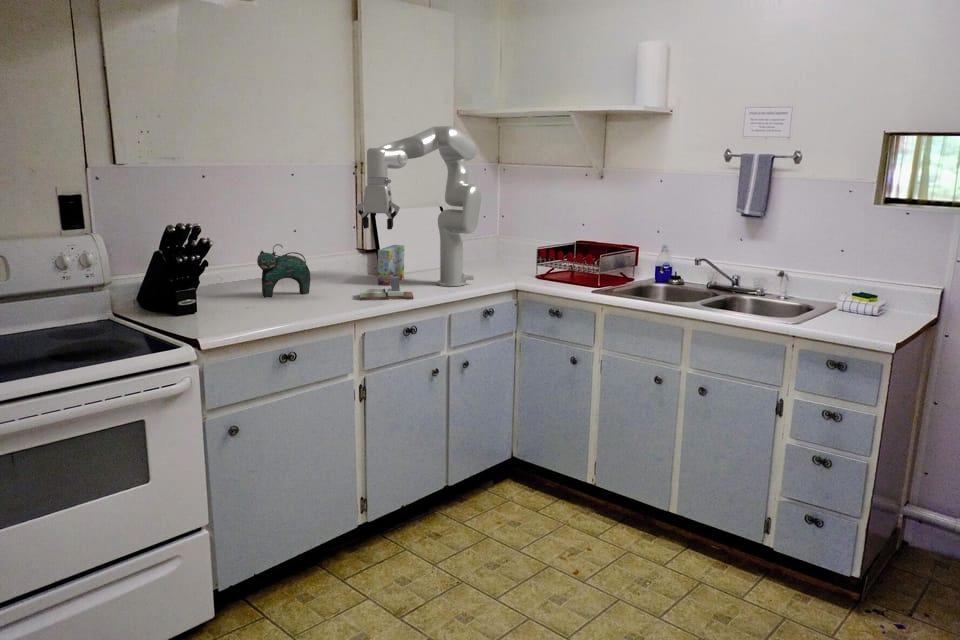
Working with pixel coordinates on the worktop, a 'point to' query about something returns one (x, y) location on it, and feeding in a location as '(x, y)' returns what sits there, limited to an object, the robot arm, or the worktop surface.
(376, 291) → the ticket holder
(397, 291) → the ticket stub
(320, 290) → the worktop surface
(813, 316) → the worktop surface
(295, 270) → the ceramic cat
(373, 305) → the worktop surface
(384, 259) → the snack box
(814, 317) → the worktop surface
